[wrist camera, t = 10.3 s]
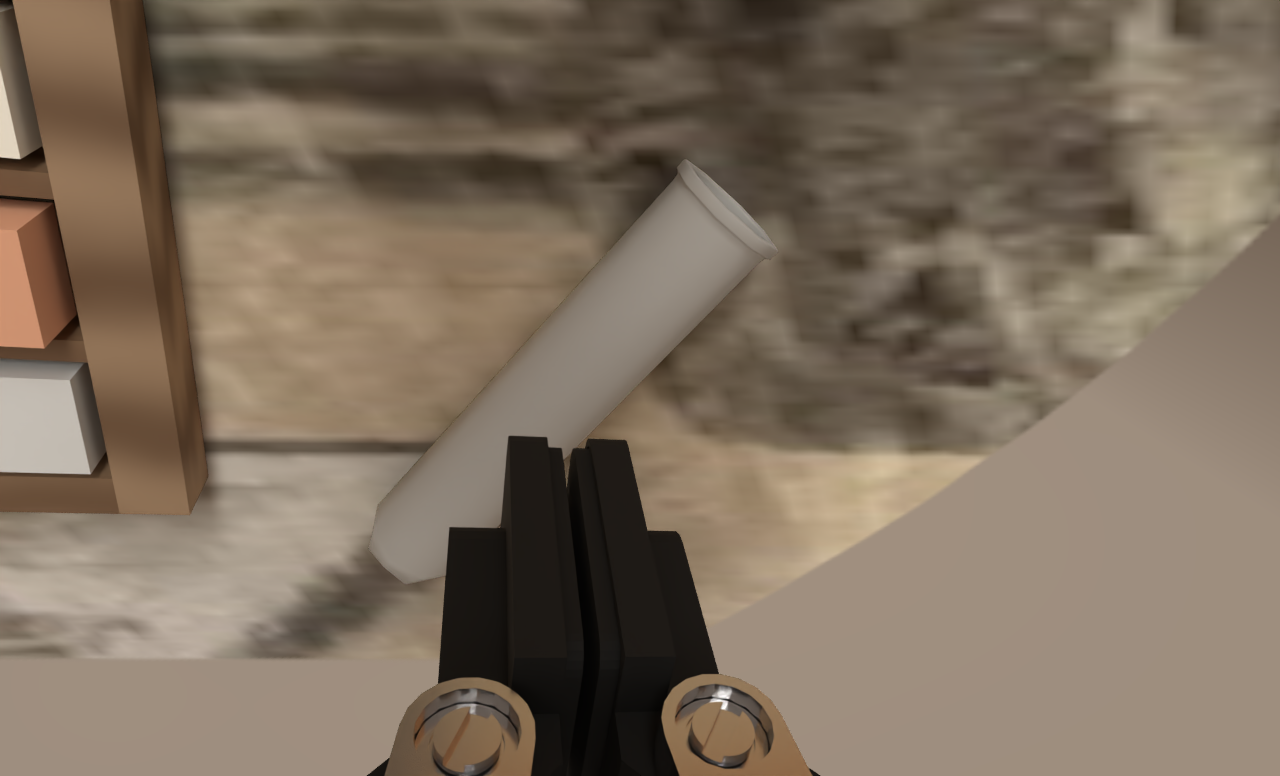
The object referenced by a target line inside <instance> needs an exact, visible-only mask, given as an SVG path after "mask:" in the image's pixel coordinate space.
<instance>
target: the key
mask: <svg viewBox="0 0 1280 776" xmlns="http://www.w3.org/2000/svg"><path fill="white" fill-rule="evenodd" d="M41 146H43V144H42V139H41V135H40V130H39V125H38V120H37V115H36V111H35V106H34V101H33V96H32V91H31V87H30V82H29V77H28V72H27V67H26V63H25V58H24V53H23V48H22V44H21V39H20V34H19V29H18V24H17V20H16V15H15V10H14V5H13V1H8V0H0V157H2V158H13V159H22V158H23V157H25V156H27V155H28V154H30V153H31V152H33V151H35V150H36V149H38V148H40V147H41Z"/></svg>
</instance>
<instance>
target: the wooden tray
mask: <svg viewBox="0 0 1280 776" xmlns="http://www.w3.org/2000/svg"><path fill="white" fill-rule="evenodd" d="M13 5H14V10H15V15H16V20H17V24H18V29H19V34H20V39H21V44H22V48H23V53H24V58H25V63H26V67H27V72H28V77H29V82H30V87H31V91H32V96H33V101H34V106H35V111H36V115H37V120H38V125H39V130H40V135H41V139H42V144H43V147H40V148H38V149H36V150H35V151H33V152H31V153H30V154H28V155H27V156H25V157H23V158H22V159H13V158H2V157H0V195H5V196H17V197H30V198H42V199H54V202H55V206H56V211H57V216H58V221H59V226H60V230H61V235H62V240H63V245H64V250H65V254H66V259H67V264H68V269H69V274H70V278H71V283H72V288H73V293H74V298H75V302H76V307H75V308H76V313H77V314H76V316H75V317H74V318H73V319H72V320H71V321H70V322H69V323H68V324H67V325H66V326H65V327H64V328H63V329H62V330H61V332H60V333H59V334H58V335H57V336H56V337H55V338H54V339H53V340H52V341H51V342H50V343H49V344H48V345H47V346H46V347H45V349H44V348H24V347H4V346H0V358H3V359H24V360H44V361H65V362H86V363H88V365H89V369H90V374H91V379H92V384H93V389H94V393H95V398H96V403H97V408H98V413H99V417H100V422H101V427H102V432H103V437H104V441H105V446H106V452H105V454H104V455H103V457H102V458H101V460H100V461H99V463H98V464H97V466H96V467H95V469H94V470H93V472H92V473H91V474H59V473H20V472H0V512H54V513H111V514H168V515H190V514H191V512H192V510H193V507H194V505H195V503H196V501H197V499H198V497H199V495H200V493H201V491H202V488H203V486H204V484H205V482H206V480H207V478H208V471H207V463H206V456H205V449H204V442H203V435H202V427H201V420H200V413H199V406H198V398H197V391H196V384H195V377H194V370H193V362H192V355H191V348H190V341H189V334H188V326H187V319H186V312H185V305H184V297H183V290H182V283H181V276H180V269H179V261H178V254H177V247H176V240H175V233H174V225H173V218H172V211H171V204H170V196H169V189H168V182H167V175H166V168H165V160H164V153H163V146H162V139H161V132H160V124H159V117H158V110H157V103H156V95H155V88H154V81H153V74H152V67H151V59H150V52H149V45H148V38H147V31H146V23H145V16H144V9H143V2H142V0H13Z"/></svg>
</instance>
